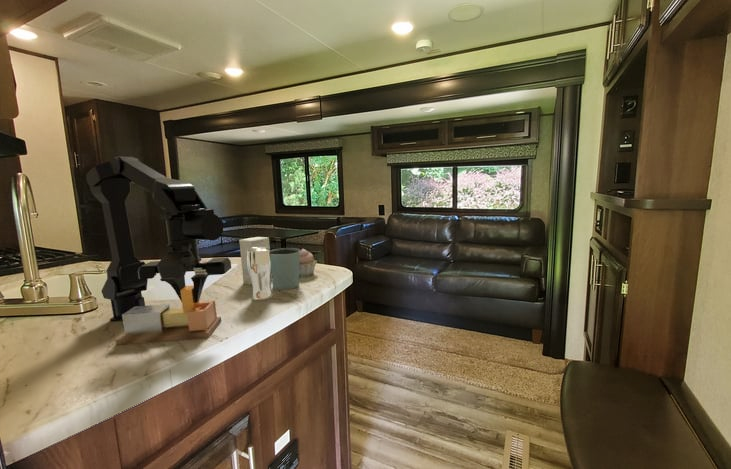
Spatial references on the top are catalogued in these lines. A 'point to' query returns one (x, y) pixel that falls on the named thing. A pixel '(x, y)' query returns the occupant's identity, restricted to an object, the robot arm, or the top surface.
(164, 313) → the wooden blocks
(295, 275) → the teal mug
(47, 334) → the top surface
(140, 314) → the steel sleeve
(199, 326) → the terracotta socket
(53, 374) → the top surface
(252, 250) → the beer glass
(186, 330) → the walnut board
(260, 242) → the skincare box
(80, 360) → the top surface
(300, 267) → the cupcake
